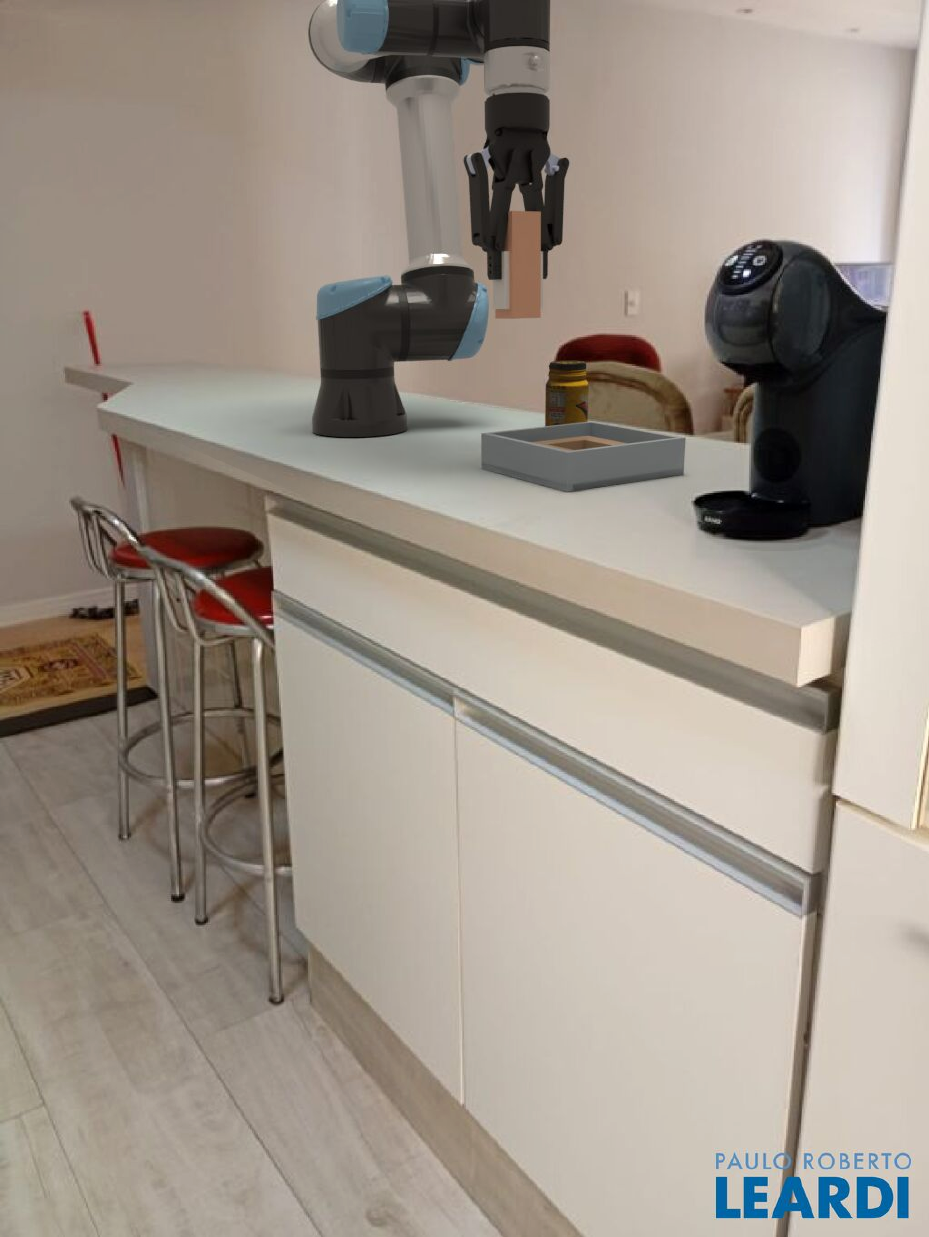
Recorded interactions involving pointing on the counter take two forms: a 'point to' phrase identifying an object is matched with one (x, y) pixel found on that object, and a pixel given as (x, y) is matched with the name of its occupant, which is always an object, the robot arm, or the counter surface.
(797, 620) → the counter surface
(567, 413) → the condiment
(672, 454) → the tray box
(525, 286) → the peg
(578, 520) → the counter surface
